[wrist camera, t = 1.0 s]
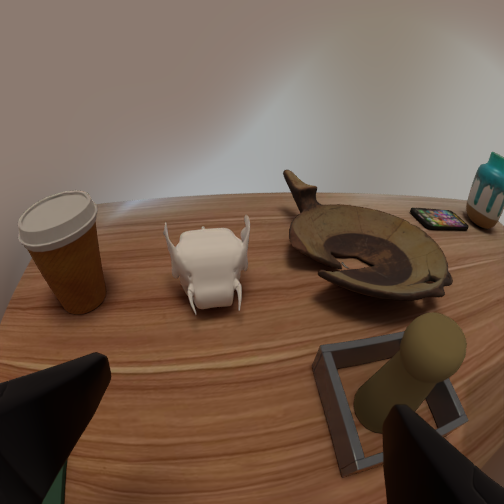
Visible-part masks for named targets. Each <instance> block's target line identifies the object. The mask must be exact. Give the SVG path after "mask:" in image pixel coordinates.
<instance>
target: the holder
mask: <svg viewBox="0 0 504 504" xmlns="http://www.w3.org/2000/svg"><path fill="white" fill-rule="evenodd" d="M404 332H405V331H403V332H398V333H393V334H388V335H383V336H378V337H372V338H366V339H360V340H354V341H348V342H341V343H334V344H327V345H320V347H319V349H318V352H317V354H316V357H315V359H314V362H313V364H312V369H313V372H314V376H315V379H316V383H317V386H318V390H319V394H320V397H321V401H322V404H323V408H324V412H325V415H326V419H327V423H328V426H329V430H330V434H331V438H332V441H333V445H334V449H335V453H336V457H337V460H338V464H339V468H340V469H341V470H340V472H341V476H342V478H343V477H347V476H350V475H353V474H357V473H360V472H363V471H366V470H369V469H372V468H375V467H378V466H380V465H383V452H381V453H379V454H376V455H373V456H370V457H367V458H365V457H364V453H363V450H362V447H361V443H360V440H359V437H358V433H357V430H356V427H355V424H354V420H353V417H352V414H351V411H350V408H349V405H348V402H347V399H346V396H345V392H344V389H343V386H342V383H341V380H340V377H339V374H338V371H337V369H338V368H344V367H349V366H354V365H359V364H364V363H369V362H374V361H378V360H383V359H387V358H391V357H393V356H394V355H395V354H396V353H397V352H398V351H399V350H400V344H401V340H402V337H403V334H404ZM426 400H427V402H428V404H429V407H430V409H431V411H432V414H433V416H434V419H435V421H436V424H437V426H438V429H436V431H437V432H438V433H439V434H440V435H441V436H442V437H445V436H447V435H449V434H450V433H452V432H453V431H455V430H456V429H458V428H459V427H460V426H462V425H463V424H465V423H466V422H467V421H468V418H467V416H466V414H465V412H464V409H463V407H462V405H461V403H460V400H459V398H458V396H457V394H456V392H455V390H454V388H453V386H452V384H451V382H450V380H449V378H448V379H446V380H444V381H442V382H438V383H437V384H436V385H435V386H434V388H433V389H432V390H431V392H430V393H429V394H428V396H427V397H426Z"/></svg>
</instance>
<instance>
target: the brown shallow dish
mask: <svg viewBox="0 0 504 504" xmlns="http://www.w3.org/2000/svg"><path fill="white" fill-rule="evenodd" d="M283 175H284V178H285V180H286V182H287V184H288V186H289V189H290V191H291V193H292V195H293V198H294V200H295V202H296V204H297V206H298V209H299V211H300V213H301V214H299V215H298V216H297V217H295V218H294V219H293V221H292V223H291V225H290V229H289V239H290V242H291V244H292V246H293V247H294V248H295V249H296V250H298V251H299V252H301V253H303V254H304V255H306V256H309V257H310V258H312V259H314V260H316V261H318V262H319V263H322V264H325V265H327V266H329V267H333V268H336V269H342V266H341V264H343V265H344V263H343V262H342V263H341V264H340V262H338V261H337V260H336V259H335V258H334V257H333V256H336V257H357V258H359V259H361V260H362V261H365V262H367V263H369V264H371V265H373V266H372V267H367V268H365V267H364V268H361V269H352V270H351V269H350V270H343V271H342V270H341V271H338V272H337V271H335V272H330V271H325V270H320V271H319V272H318V275H319V276H320V277H322V278H323V279H325V280H327V281H329V282H331V283H333V284H335V285H338V286H340V287H343V288H346V289H349V290H351V291H354V292H357V293H360V294H364V295H368V296H372V297H377V298H383V299H396V300H418V299H422V298H425V297H442V296H444V295H445V292H444V289H443V287H444V286H449V285H452V282H453V279H452V277H451V275H450V273H449V272H448V263H447V260H446V257H445V255H444V253H443V251H442V250H441V248H440V247H439V246H438V244H437V243H436V242H435V241H434V240H433V239H432V238H431V237H430V236H428V235H427V233H425V232H424V231H423V230H421V229H420V228H419V227H417V226H415V225H412V224H410V223H409V222H408V221H406V220H404V219H401V218H399V217H396V216H394V215H391V214H388V213H385V212H382V211H378V210H373V209H369V208H363V207H358V206H351V205H340V204H337V205H321V204H320V203H318V202H317V200H316V191H317V187H316V186H311V185H307V184H305V183H304V182H302V181H301V180H300V179H299V178H298V177H297V176H296V175H295V174H294V173H293V172H291V171H289V170H285V171H284V172H283ZM332 255H333V256H332ZM344 266H345V265H344ZM345 267H346V266H345ZM347 268H348V267H347ZM428 281H431V282H435V283H432V284H428V283H425V282H428Z"/></svg>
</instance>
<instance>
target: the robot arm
mask: <svg viewBox="0 0 504 504" xmlns="http://www.w3.org/2000/svg"><path fill="white" fill-rule="evenodd" d="M110 380H111V371H110V366H109V362H108V358H107V356H105V355H103V354H100V353H97V352H95V353H92V354H89V355H86V356H83V357H80V358H77V359H74V360H71V361H68V362H65V363H62V364H59V365H56V366H53V367H50V368H47V369H44V370H41V371H38V372H35V373H32V374H29V375H25V376H22V377H19V378H16V379H13V380H9V382H8V381H6V382H2V383H0V504H42V502H43V501H44V500H43V499H44V498H45V497H46V495H47V493H48V491H49V489H50V488H51V486H52V484H53V482H54V481H55V479H56V477H57V475H58V474H59V472H60V470H61V468H62V467H63V465H64V463H65V462H66V460H67V458H68V457H69V455H70V453H71V451H72V450H73V448H74V446H75V445H76V443H77V442H78V440H79V438H80V437H81V435H82V433H83V432H84V430H85V428H86V427H87V425H88V424H89V422H90V420H91V419H92V417H93V415H94V414H95V412H96V410H97V408H98V405H99V403H100V401H101V399H102V397H103V395H104V393H105V391H106V389H107V387H108V385H109V383H110ZM382 432H383V468H384V478H385V487H386V497H387V504H504V488H503V487H502V486H500V485H499V484H498V483H496V482H495V481H493V480H492V479H491V478H490V477H488V476H487V475H486V474H485V473H483V472H482V471H481V470H480V469H479V468H478V467H477V466H474V464H473V463H472V462H471V461H470V460H468V459H467V458H466V457H465V456H464V455H463V454H462V453H461V452H459V451H458V450H457V449H456V448H455V447H454V446H453V445H451V444H450V443H449V442H448V441H447V440H446V439H445V438H444V437H442V436H441V435H440V434H439V433H438V432H437V431H436V430H435V429H433V428H432V427H431V426H430V425H429V424H428V423H427V422H426V421H425V420H423V419H422V418H421V417H420V416H419V415H418V414H417V413H416V412H414V411H413V410H412V409H411V408H410V407H409V406H408V405H406V404H396V405H394V406H393V407H392V408H391V410H390V412H389V413H388V415H387V417H386V419H385V420H384V422H383V427H382Z"/></svg>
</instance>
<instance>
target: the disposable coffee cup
mask: <svg viewBox="0 0 504 504" xmlns="http://www.w3.org/2000/svg"><path fill="white" fill-rule="evenodd" d="M96 215H97V205H96V204H95V203H94V202H93V201H92V199H91V198H90V196H89V194H87V193H86V192H84V191H67V192H62V193H58V194H55V195H52V196H49V197H47V198H45V199H43V200H41V201H39V202H37V203H35V204H34V205H33V206H31V207H30V208H29V209H27V210H26V211H25V212H24V213H23V215H22V216H21V217H20V220H19V222H18V225H19V234H18V238H19V241H20V243H21V244H22V245H24V247H25V248H26V249H27V250H28V251H29V253H30V255H31V257H32V258H33V260H34V262H35V264H36V265H37V267H38V269H39V270H40V272H41V274H42V275H43V277H44V279H45V280H46V282H47V283H48V285H49V286H50V288H51V290H52V291H53V293H54V294H55V296H56V297H57V299H58V300H59V302H60V303H61V304H62V306H63V307H64V309H65V310H66V311H67V312H69V313H72V314H84V313H87V312H90V311H92V310H94V309H95V308H97V307H98V306H99V305H100V304H101V303H102V302H103V300H104V298H105V296H106V286H105V281H104V276H103V270H102V265H101V258H100V252H99V245H98V238H97V230H96V222H95V221H96Z"/></svg>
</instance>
